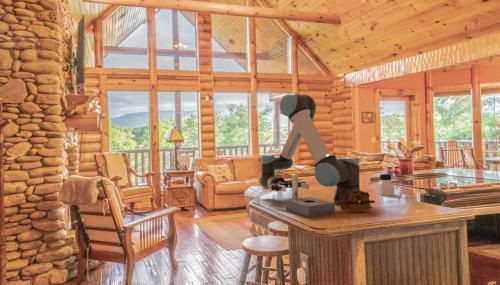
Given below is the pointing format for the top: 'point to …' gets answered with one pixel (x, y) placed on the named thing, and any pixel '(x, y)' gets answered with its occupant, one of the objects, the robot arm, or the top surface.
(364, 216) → the top surface
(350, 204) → the wooden carving
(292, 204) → the pin block
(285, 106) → the robot arm
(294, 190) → the pin
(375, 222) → the top surface
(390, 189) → the medicine bottle
